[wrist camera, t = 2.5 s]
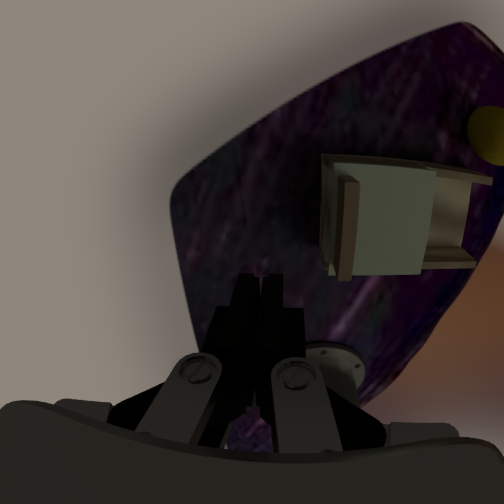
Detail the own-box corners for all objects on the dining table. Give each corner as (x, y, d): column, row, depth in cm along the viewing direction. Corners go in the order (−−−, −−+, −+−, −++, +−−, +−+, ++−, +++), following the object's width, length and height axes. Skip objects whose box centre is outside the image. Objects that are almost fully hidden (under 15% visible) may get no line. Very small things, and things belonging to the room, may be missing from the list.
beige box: (454, 248, 25) (474, 267, 21) (318, 247, 27) (324, 269, 23) (467, 168, 21) (492, 177, 17) (321, 153, 23) (329, 159, 19)
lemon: (449, 105, 19) (498, 105, 12) (486, 106, 18) (535, 110, 11) (456, 159, 21) (505, 176, 14) (492, 156, 20) (540, 172, 13)
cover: (416, 269, 22) (430, 289, 19) (327, 270, 23) (332, 291, 20) (431, 169, 18) (452, 177, 15) (332, 161, 19) (340, 167, 16)
